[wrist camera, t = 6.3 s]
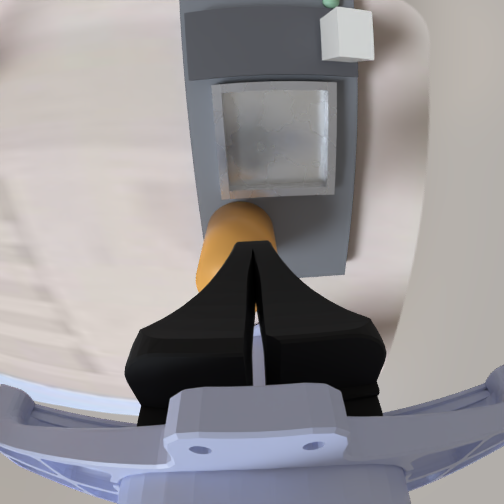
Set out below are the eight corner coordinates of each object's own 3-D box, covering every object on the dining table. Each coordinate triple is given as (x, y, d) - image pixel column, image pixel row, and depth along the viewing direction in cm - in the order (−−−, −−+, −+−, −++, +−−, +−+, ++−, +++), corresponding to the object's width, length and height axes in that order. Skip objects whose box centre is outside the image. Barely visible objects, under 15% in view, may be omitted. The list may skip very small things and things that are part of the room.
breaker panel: (339, 263, 24) (349, 286, 21) (212, 270, 24) (208, 295, 21) (345, 1, 14) (361, -10, 11) (184, 3, 14) (173, -9, 11)
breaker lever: (351, 62, 13) (374, 60, 10) (321, 60, 13) (339, 56, 10) (349, 22, 12) (371, 11, 9) (319, 19, 12) (336, 6, 9)
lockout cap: (286, 237, 21) (297, 288, 16) (235, 270, 22) (232, 325, 17) (246, 188, 19) (246, 229, 14) (193, 227, 20) (178, 276, 16)
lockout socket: (330, 188, 19) (334, 194, 18) (222, 193, 19) (221, 199, 18) (332, 82, 15) (336, 82, 15) (213, 85, 15) (211, 85, 15)
